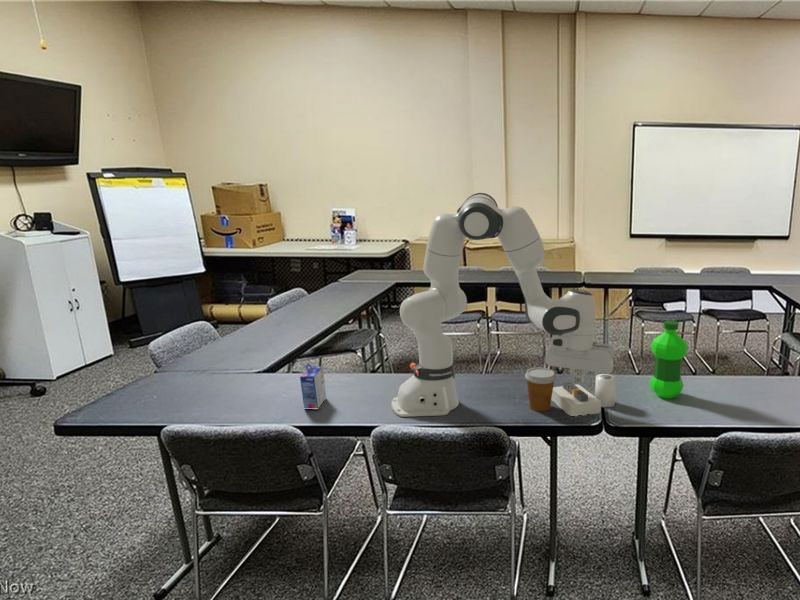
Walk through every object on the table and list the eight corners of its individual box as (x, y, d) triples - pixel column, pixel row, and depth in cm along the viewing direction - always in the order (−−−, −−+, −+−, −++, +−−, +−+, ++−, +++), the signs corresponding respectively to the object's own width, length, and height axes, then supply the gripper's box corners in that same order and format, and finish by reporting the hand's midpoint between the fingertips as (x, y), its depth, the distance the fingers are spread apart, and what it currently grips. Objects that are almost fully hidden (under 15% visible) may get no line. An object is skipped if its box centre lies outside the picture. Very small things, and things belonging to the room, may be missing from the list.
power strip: (570, 417, 159) (571, 398, 158) (539, 389, 180) (539, 373, 179) (600, 413, 161) (601, 395, 159) (566, 386, 182) (566, 370, 181)
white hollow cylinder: (601, 408, 164) (602, 381, 162) (591, 400, 170) (592, 374, 168) (618, 406, 165) (619, 379, 163) (607, 398, 171) (609, 372, 169)
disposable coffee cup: (552, 401, 171) (552, 366, 168) (557, 413, 162) (558, 377, 159) (522, 401, 172) (523, 367, 169) (526, 413, 163) (527, 378, 160)
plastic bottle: (673, 388, 176) (678, 317, 170) (689, 401, 166) (695, 326, 160) (643, 389, 176) (647, 318, 171) (657, 402, 166) (662, 327, 160)
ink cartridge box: (311, 398, 183) (308, 359, 179) (326, 398, 182) (323, 359, 179) (302, 410, 173) (298, 369, 170) (318, 410, 172) (314, 370, 169)
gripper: (616, 341, 159) (614, 383, 162) (550, 334, 170) (549, 373, 173) (612, 347, 154) (610, 391, 157) (544, 339, 164) (543, 380, 168)
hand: (578, 381), depth 165 cm, fingers closed
